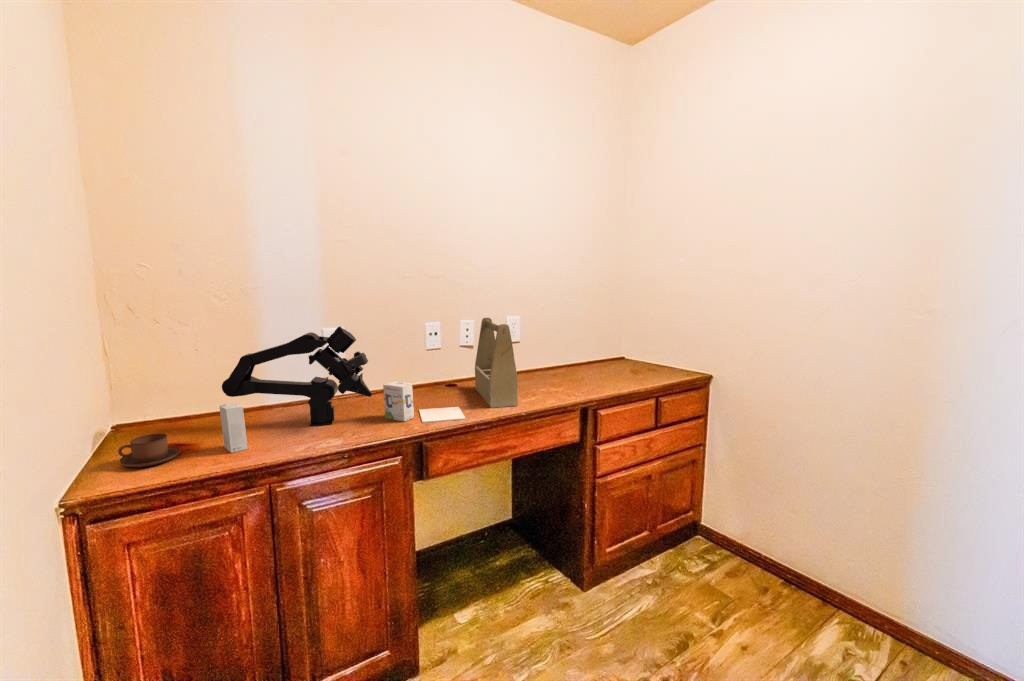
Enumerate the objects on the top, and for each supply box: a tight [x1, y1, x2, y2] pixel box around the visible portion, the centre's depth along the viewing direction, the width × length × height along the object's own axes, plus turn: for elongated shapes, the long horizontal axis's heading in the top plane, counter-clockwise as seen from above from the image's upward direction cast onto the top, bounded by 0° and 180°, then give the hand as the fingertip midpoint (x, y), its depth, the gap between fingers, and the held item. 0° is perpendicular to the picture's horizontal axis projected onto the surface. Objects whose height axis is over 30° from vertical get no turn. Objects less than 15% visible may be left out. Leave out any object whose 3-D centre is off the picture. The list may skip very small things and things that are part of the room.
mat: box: [418, 406, 467, 424], centre depth 157 cm, size 14×14×1 cm
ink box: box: [382, 380, 415, 422], centre depth 152 cm, size 9×5×12 cm, turn 62°
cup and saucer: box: [117, 433, 181, 468], centre depth 117 cm, size 12×12×6 cm
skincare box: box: [219, 402, 248, 454], centre depth 125 cm, size 6×4×12 cm
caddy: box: [474, 317, 519, 409], centre depth 178 cm, size 29×11×30 cm, turn 15°
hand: (371, 395), depth 150 cm, fingers closed
